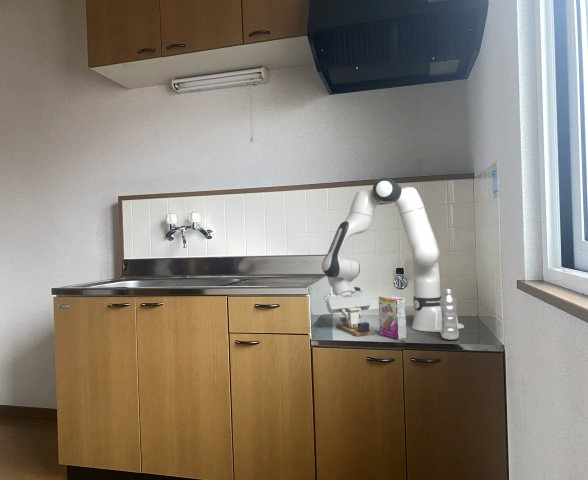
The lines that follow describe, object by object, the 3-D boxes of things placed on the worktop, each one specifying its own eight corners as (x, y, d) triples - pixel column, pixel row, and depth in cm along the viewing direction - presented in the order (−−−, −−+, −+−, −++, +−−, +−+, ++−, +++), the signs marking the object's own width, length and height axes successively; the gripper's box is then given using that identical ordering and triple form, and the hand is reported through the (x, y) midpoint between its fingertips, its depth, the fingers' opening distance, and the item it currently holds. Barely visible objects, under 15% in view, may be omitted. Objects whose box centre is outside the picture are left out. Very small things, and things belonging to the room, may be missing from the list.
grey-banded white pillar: (356, 325, 188) (355, 307, 187) (359, 327, 185) (358, 308, 185) (348, 326, 186) (347, 308, 186) (351, 328, 183) (350, 309, 183)
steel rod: (348, 323, 195) (348, 315, 195) (369, 331, 176) (369, 323, 176) (340, 324, 193) (340, 316, 193) (360, 332, 175) (360, 324, 175)
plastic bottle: (460, 341, 160) (458, 289, 160) (442, 341, 162) (440, 289, 162) (457, 337, 167) (455, 287, 167) (439, 337, 168) (438, 287, 168)
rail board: (352, 325, 196) (351, 316, 196) (373, 334, 177) (373, 324, 177) (336, 327, 193) (336, 318, 193) (356, 336, 174) (356, 326, 174)
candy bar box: (379, 335, 176) (377, 296, 175) (388, 333, 178) (386, 295, 178) (398, 340, 166) (396, 299, 166) (407, 338, 168) (405, 298, 168)
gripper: (324, 291, 188) (334, 316, 179) (365, 287, 195) (376, 311, 186) (321, 299, 193) (330, 324, 183) (360, 296, 199) (371, 320, 190)
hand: (354, 318), depth 185 cm, fingers closed on grey-banded white pillar, 4 cm apart
